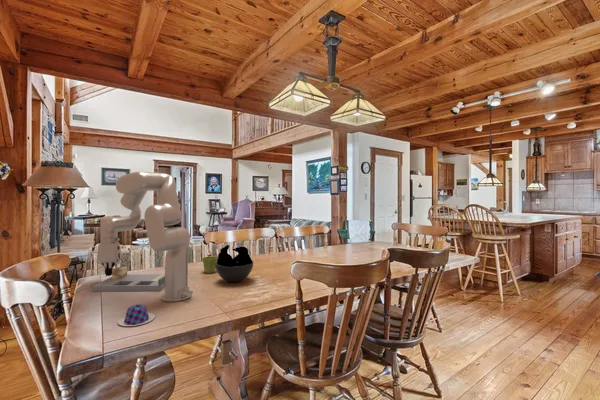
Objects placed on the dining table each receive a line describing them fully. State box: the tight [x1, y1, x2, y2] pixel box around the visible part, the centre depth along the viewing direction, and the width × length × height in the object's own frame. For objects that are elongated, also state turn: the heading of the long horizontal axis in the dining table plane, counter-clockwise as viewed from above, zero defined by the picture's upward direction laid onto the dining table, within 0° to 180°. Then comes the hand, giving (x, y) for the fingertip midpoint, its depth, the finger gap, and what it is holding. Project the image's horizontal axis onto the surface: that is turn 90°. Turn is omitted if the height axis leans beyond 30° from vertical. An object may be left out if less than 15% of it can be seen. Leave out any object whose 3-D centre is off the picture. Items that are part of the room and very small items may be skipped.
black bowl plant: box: [215, 244, 254, 283], centre depth 160 cm, size 20×20×19 cm
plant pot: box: [201, 255, 218, 274], centre depth 178 cm, size 9×9×9 cm
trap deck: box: [91, 273, 165, 292], centre depth 153 cm, size 32×21×6 cm, turn 92°
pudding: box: [117, 304, 156, 327], centre depth 109 cm, size 12×12×5 cm
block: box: [111, 266, 128, 279], centre depth 156 cm, size 5×5×5 cm
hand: (109, 275), depth 156 cm, fingers closed
